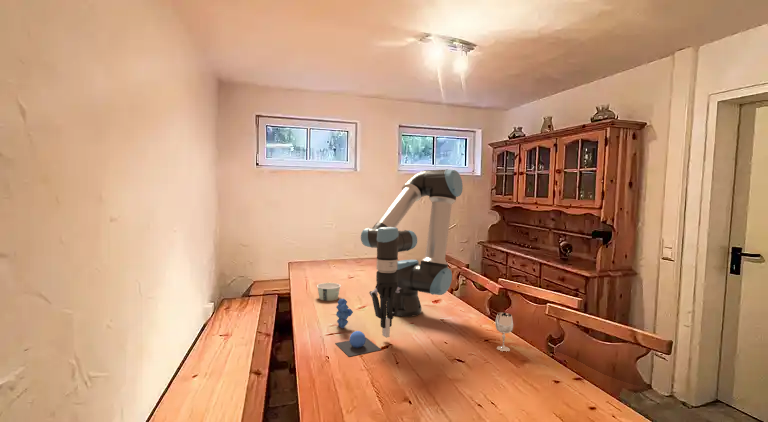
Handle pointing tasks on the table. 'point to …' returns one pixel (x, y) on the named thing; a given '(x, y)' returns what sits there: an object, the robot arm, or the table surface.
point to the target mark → (353, 351)
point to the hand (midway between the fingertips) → (385, 335)
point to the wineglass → (504, 327)
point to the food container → (328, 291)
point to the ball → (357, 339)
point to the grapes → (343, 313)
